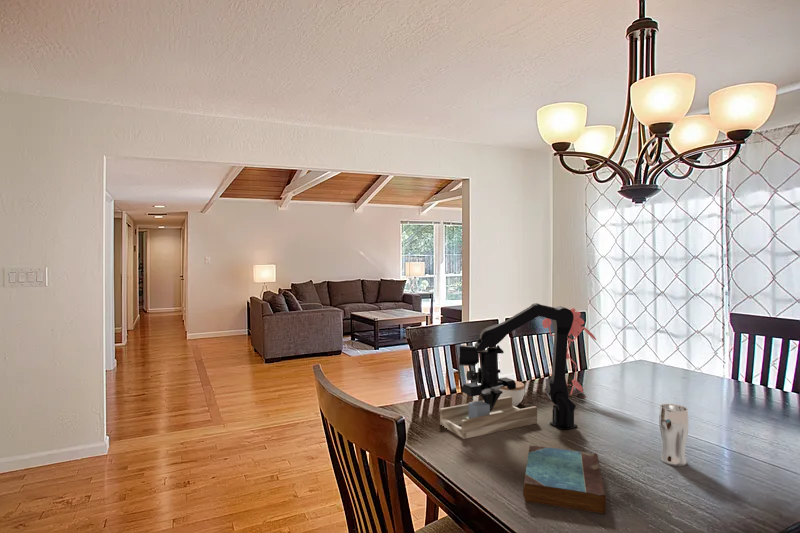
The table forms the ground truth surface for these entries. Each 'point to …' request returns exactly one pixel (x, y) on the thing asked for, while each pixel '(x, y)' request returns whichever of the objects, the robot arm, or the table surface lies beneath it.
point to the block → (478, 409)
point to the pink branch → (574, 330)
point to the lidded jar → (514, 393)
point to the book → (564, 479)
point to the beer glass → (673, 433)
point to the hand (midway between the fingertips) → (489, 411)
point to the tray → (487, 418)
